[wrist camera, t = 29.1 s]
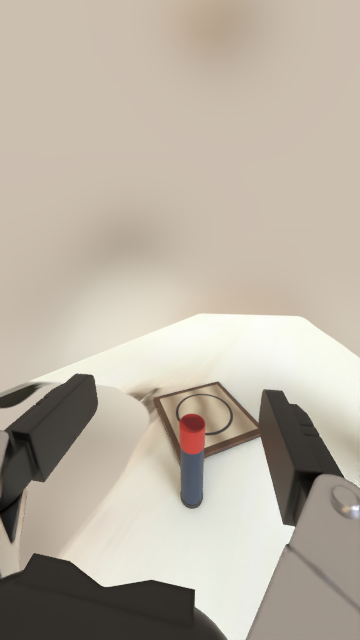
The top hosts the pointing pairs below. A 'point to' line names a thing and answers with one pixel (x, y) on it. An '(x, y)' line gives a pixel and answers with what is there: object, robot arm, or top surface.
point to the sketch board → (208, 417)
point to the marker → (192, 458)
